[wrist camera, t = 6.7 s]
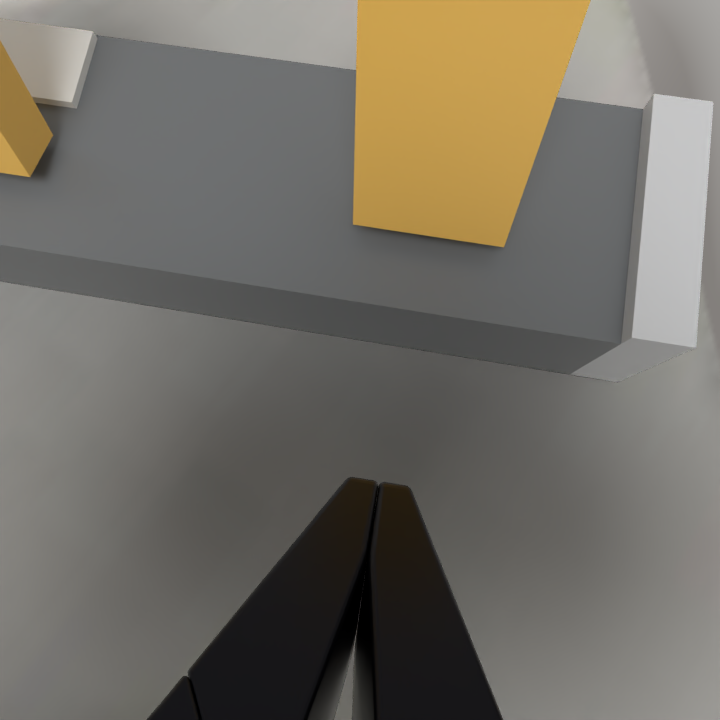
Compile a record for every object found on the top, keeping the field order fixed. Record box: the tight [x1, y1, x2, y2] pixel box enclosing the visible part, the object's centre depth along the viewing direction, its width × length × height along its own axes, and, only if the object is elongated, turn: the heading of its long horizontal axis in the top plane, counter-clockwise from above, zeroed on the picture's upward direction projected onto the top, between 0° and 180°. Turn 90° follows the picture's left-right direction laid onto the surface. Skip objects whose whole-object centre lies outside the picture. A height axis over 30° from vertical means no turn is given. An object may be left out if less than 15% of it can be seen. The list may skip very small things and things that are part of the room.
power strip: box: [0, 19, 713, 382], centre depth 20 cm, size 7×26×5 cm, turn 80°
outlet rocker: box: [353, 0, 590, 247], centre depth 13 cm, size 2×4×8 cm, turn 80°
